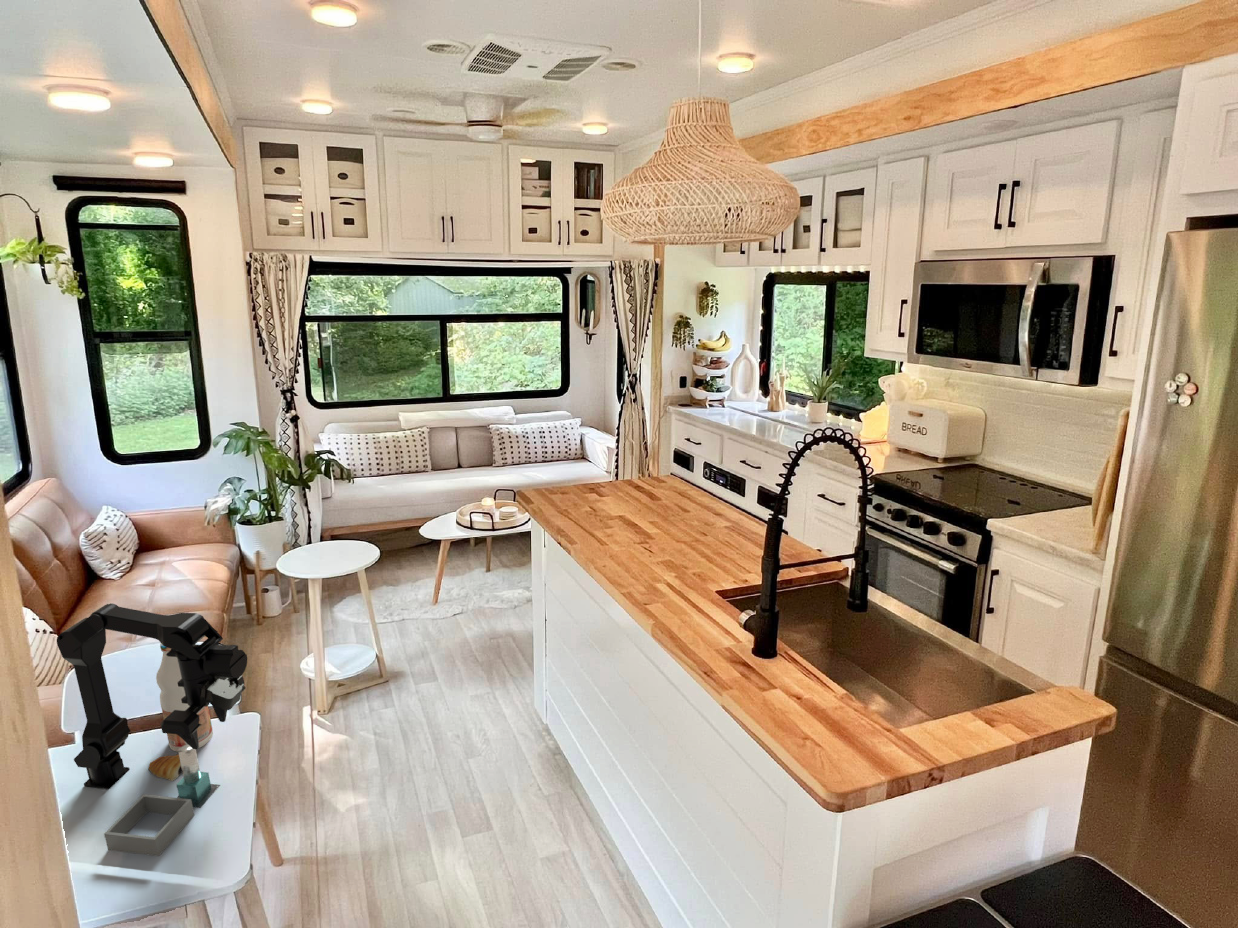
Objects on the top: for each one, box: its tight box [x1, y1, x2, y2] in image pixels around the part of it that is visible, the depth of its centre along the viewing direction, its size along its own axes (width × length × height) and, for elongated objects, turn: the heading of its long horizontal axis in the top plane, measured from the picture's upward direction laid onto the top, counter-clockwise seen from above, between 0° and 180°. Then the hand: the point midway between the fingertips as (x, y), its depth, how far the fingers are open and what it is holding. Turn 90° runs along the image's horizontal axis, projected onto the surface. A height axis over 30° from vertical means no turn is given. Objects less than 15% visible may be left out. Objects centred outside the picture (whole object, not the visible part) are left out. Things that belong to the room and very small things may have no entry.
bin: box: [103, 793, 195, 857], centre depth 158 cm, size 11×11×5 cm
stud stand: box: [176, 783, 221, 809], centre depth 169 cm, size 7×7×4 cm
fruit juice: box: [155, 643, 214, 753], centre depth 182 cm, size 9×9×28 cm
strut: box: [176, 745, 212, 803], centre depth 167 cm, size 4×4×12 cm
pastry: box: [148, 754, 183, 781], centre depth 177 cm, size 9×7×4 cm
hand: (209, 734), depth 167 cm, fingers open, 9 cm apart
